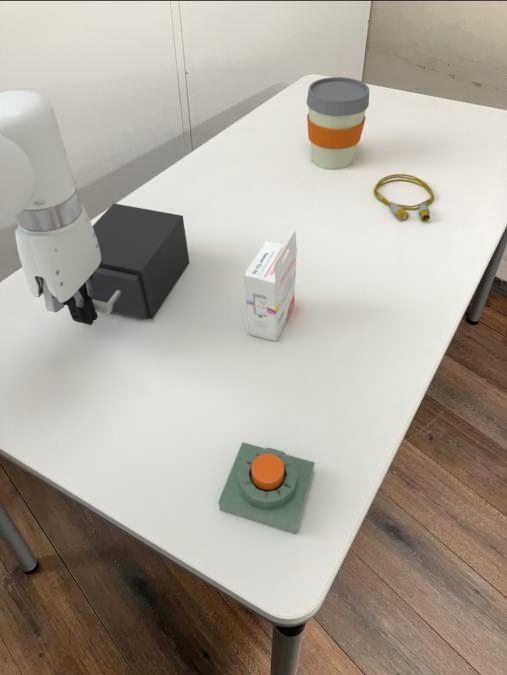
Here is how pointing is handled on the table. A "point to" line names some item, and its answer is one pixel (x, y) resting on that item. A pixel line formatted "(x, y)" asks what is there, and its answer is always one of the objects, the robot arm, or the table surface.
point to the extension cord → (399, 209)
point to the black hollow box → (144, 249)
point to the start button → (267, 471)
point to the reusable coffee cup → (336, 120)
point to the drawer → (118, 292)
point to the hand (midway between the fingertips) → (85, 319)
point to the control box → (267, 505)
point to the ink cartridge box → (271, 288)
